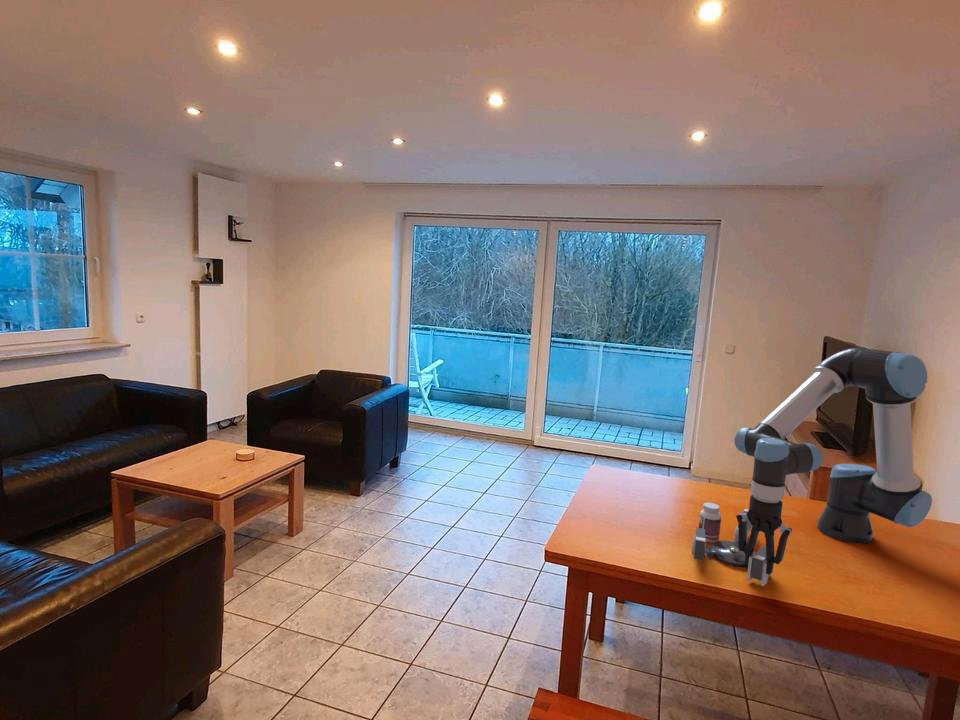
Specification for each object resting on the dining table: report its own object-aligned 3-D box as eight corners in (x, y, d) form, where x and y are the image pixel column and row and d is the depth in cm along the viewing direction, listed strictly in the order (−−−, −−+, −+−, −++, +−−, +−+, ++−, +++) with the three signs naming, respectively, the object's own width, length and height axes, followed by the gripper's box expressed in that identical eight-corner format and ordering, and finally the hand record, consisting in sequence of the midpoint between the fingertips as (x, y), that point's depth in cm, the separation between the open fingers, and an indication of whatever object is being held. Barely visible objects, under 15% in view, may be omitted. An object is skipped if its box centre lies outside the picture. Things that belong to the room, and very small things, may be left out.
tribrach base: (744, 546, 165) (745, 538, 164) (764, 572, 150) (765, 563, 150) (698, 542, 166) (699, 534, 166) (713, 567, 152) (714, 558, 151)
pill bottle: (722, 540, 168) (726, 507, 166) (711, 545, 165) (714, 511, 163) (705, 532, 173) (708, 500, 172) (693, 536, 170) (696, 503, 168)
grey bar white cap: (756, 569, 152) (760, 541, 150) (771, 574, 149) (774, 546, 148) (747, 585, 143) (750, 556, 142) (762, 590, 141) (765, 561, 140)
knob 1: (745, 548, 164) (748, 522, 162) (732, 544, 166) (735, 519, 164) (752, 535, 172) (755, 511, 171) (740, 532, 174) (743, 508, 173)
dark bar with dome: (691, 549, 162) (694, 523, 160) (704, 552, 160) (707, 526, 159) (690, 566, 152) (693, 538, 150) (704, 569, 150) (707, 541, 149)
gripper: (804, 503, 137) (794, 588, 140) (740, 485, 149) (732, 564, 152) (795, 511, 132) (784, 599, 135) (729, 491, 143) (721, 573, 147)
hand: (757, 580), depth 144 cm, fingers closed on grey bar white cap, 3 cm apart
